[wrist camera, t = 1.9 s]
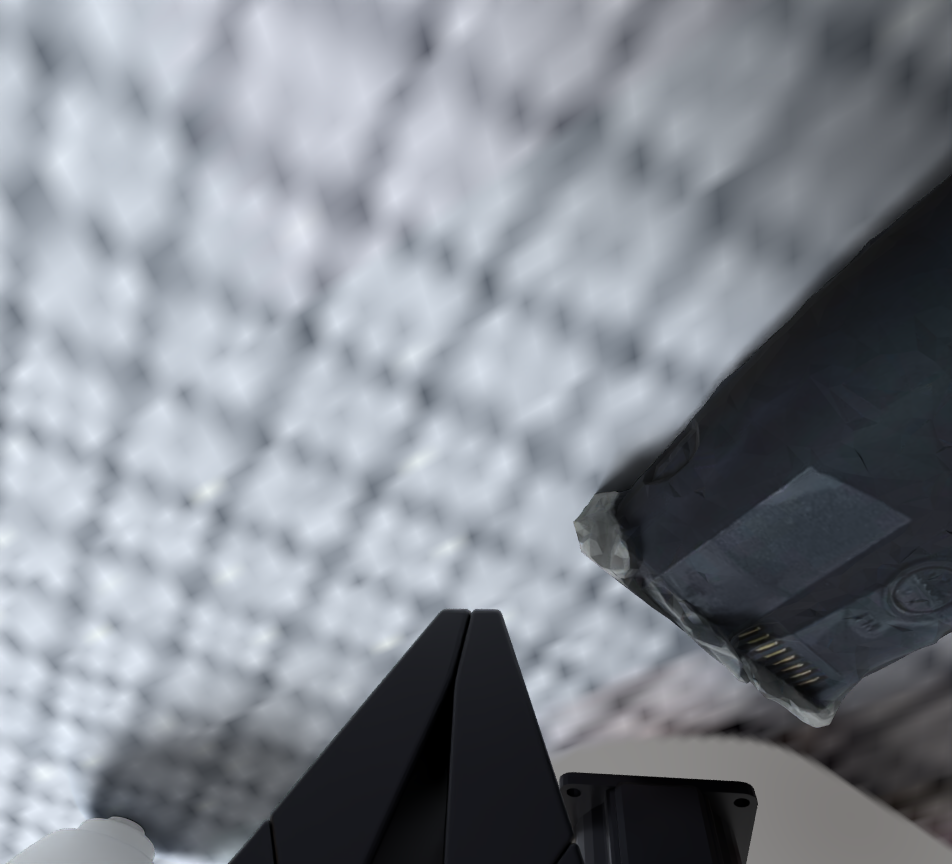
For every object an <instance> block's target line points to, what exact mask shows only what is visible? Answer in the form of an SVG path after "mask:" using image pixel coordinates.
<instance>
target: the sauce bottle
mask: <svg viewBox="0 0 952 864" xmlns="http://www.w3.org/2000/svg"><path fill="white" fill-rule="evenodd" d="M154 856H155V849H154V846H153V844H152V842H151V841H150V840H149V839H148V838H147V837H146V836H145V832H144V830H143V828H142V827H141V826H140V825H138V824H137V823H135V822H133V821H131V820H129V819H126V818H122V817H110V818H108V819H103V818H92V819H88V820H86V821H84V822H83V823H82V824H81V825H80V826H79V827H78V828H77V829H75V828H68V829H60V830H56V831H53V832H52V833H50V834H48V835H47V836H45V837H43V838H42V839H40V840H39V841H37V842H36V843H34V844H33V845H31V846H30V847H28V848H27V849H25V850H24V851H22V852H21V853H19V854H18V855H17V856H15V857H14V858H13V859H11V860H10V861H9V862H7V863H6V864H154V863H153V859H154Z"/></svg>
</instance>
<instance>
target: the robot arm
mask: <svg viewBox="0 0 952 864" xmlns="http://www.w3.org/2000/svg"><path fill="white" fill-rule="evenodd" d="M757 805H758V802H757V798H756V795H755V791H754V788H753V787H752V786H751V785H750V784H748V783H744V782H739V781H721V780H703V779H684V778H666V777H648V776H630V775H612V774H592V773H576V772H571V773H566V774H563V775H562V776H561V777H560V779H559V785H558V782H557V779H556V776H555V773H554V770H553V767H552V764H551V761H550V758H549V755H548V752H547V749H546V746H545V743H544V740H543V737H542V734H541V731H540V728H539V725H538V722H537V719H536V716H535V713H534V710H533V707H532V704H531V700H530V697H529V694H528V691H527V688H526V685H525V682H524V679H523V676H522V673H521V670H520V667H519V664H518V661H517V658H516V655H515V652H514V649H513V646H512V643H511V640H510V637H509V634H508V631H507V628H506V625H505V622H504V619H503V616H502V613H501V612H500V611H499V610H496V609H475V610H474V611H473V612H472V613H471V611H469V610H468V609H444V610H442V611H441V612H440V613H439V614H438V615H437V616H436V617H435V619H434V620H433V621H432V622H431V623H430V624H429V626H428V627H427V628H426V629H425V630H424V632H423V633H422V634H421V635H420V636H419V638H418V639H417V640H416V641H415V642H414V644H413V645H412V646H411V647H410V648H409V650H408V651H407V652H406V653H405V654H404V655H403V657H402V658H401V659H400V660H399V661H398V663H397V664H396V665H395V666H394V667H393V669H392V670H391V671H390V672H389V673H388V675H387V676H386V677H385V678H384V679H383V680H382V682H381V683H380V684H379V685H378V686H377V688H376V689H375V690H374V691H373V692H372V694H371V695H370V696H369V697H368V698H367V700H366V701H365V702H364V703H363V704H362V706H361V707H360V708H359V709H358V710H357V711H356V713H355V714H354V715H353V716H352V717H351V719H350V720H349V721H348V722H347V723H346V725H345V726H344V727H343V728H342V729H341V731H340V732H339V733H338V734H337V735H336V736H335V738H334V739H333V740H332V741H331V742H330V744H329V745H328V746H327V747H326V748H325V750H324V751H323V752H322V753H321V754H320V756H319V757H318V758H317V759H316V760H315V761H314V763H313V764H312V765H311V766H310V767H309V769H308V770H307V771H306V772H305V773H304V775H303V776H302V777H301V778H300V779H299V781H298V782H297V783H296V784H295V785H294V787H293V788H292V789H291V790H290V791H289V792H288V794H287V795H286V796H285V797H284V798H283V800H282V801H281V802H280V803H279V804H278V806H277V807H276V808H275V809H274V810H273V812H272V813H271V815H270V821H271V822H270V821H269V820H265V821H264V822H263V823H262V824H261V825H260V827H259V828H258V829H257V830H256V831H255V833H254V834H253V835H252V836H251V837H250V839H249V840H248V841H247V842H246V843H245V844H244V846H243V847H242V848H241V849H240V850H239V852H238V853H237V854H236V855H235V856H234V857H233V858H232V860H231V861H230V862H229V863H228V864H746V861H747V856H748V851H749V846H750V841H751V836H752V830H753V825H754V821H755V815H756V810H757Z"/></svg>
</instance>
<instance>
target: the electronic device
mask: <svg viewBox="0 0 952 864" xmlns="http://www.w3.org/2000/svg"><path fill="white" fill-rule="evenodd" d="M574 526H575V529H576V533H577V536H578V540H579V544H580V549H581V552H582V553H584V554H585V555H586V556H587V557H588V558H590V559H591V560H592V561H593V562H595V563H596V564H597V565H598V566H600V567H601V568H602V569H603V570H605V571H606V572H607V573H608V574H610V575H611V576H612V577H613V578H615V579H616V580H617V581H619V582H620V583H621V584H622V585H624V586H625V587H626V588H628V589H629V590H630V591H632V592H633V593H634V594H635V595H637V596H638V597H639V598H641V599H642V600H643V601H645V602H646V603H647V604H648V605H650V606H651V607H652V608H654V609H655V610H657V611H658V612H660V613H661V614H663V615H664V616H666V617H667V618H668V619H670V620H671V621H672V622H673V623H675V624H676V625H677V626H678V627H680V628H681V629H682V630H683V631H685V632H686V633H687V634H688V635H689V636H690V637H691V638H692V639H693V640H694V641H695V642H696V643H697V644H698V645H699V646H701V647H702V648H703V649H704V650H705V651H706V652H708V653H709V654H710V655H711V656H712V657H714V658H715V659H716V660H718V661H719V662H720V663H722V664H723V665H724V666H726V668H727V669H728V670H729V671H730V672H731V673H732V674H733V675H734V676H735V677H736V678H737V680H739V681H742V682H744V683H748V682H750V681H751V682H752V684H753V685H754V686H755V687H756V688H757V689H758V690H759V691H760V692H761V693H762V694H763V695H764V696H765V697H766V698H768V699H770V700H773V701H775V702H778V703H779V704H780V705H782V706H783V707H784V708H786V709H787V710H788V711H790V712H791V713H792V714H794V715H795V716H796V717H797V718H799V719H800V720H801V721H802V722H804V723H806V724H809V725H811V726H813V727H816V728H819V727H822V726H826V725H830V723H831V721H832V719H833V717H834V715H835V713H836V711H837V709H838V707H839V705H840V703H841V701H842V700H843V699H844V697H845V696H846V695H847V693H848V692H849V691H850V690H851V689H852V688H853V687H854V686H855V685H856V684H857V683H858V682H859V681H860V680H861V679H862V678H863V677H865V676H868V675H870V674H872V673H874V672H876V671H878V670H880V669H882V668H884V667H886V666H888V665H890V664H891V663H893V662H895V661H897V660H899V659H901V658H903V657H905V656H906V655H908V654H910V653H912V652H914V651H916V650H918V649H921V648H923V647H926V646H929V645H932V644H935V643H937V641H938V640H939V639H940V638H941V637H943V636H945V635H947V634H948V633H950V632H952V175H951V176H949V177H948V178H947V179H946V180H945V181H944V182H943V183H942V184H940V185H939V186H937V187H936V188H935V189H934V190H932V191H931V192H930V193H929V194H928V195H926V196H925V197H924V198H923V199H921V200H920V201H919V202H918V203H916V204H915V205H914V206H913V207H912V208H911V209H910V210H908V211H907V212H906V213H905V214H904V215H903V216H901V217H900V218H899V219H898V220H897V221H896V222H894V223H893V224H892V225H891V226H890V227H889V228H887V229H886V230H884V231H883V232H882V233H880V234H879V235H877V236H876V237H875V238H873V239H872V240H870V241H869V242H868V243H867V244H866V245H865V246H864V248H863V249H862V250H861V251H860V252H859V253H858V255H857V256H856V257H855V258H854V259H853V260H852V262H851V263H850V264H849V265H848V266H847V267H845V268H844V269H843V270H842V271H841V272H840V273H839V274H837V275H836V276H835V277H834V278H832V279H831V280H830V281H828V282H827V283H826V284H825V286H824V287H823V288H822V289H820V290H819V291H818V292H817V293H816V294H814V295H813V296H812V297H811V298H810V299H808V301H807V302H806V303H805V304H804V305H803V307H802V308H801V309H800V310H799V311H798V312H797V314H796V315H795V316H794V317H793V318H792V319H791V320H790V321H789V322H788V323H787V324H785V325H784V326H783V327H782V328H781V329H780V330H779V331H778V332H776V333H775V334H774V335H773V336H772V337H771V338H770V339H769V340H768V341H767V342H766V343H765V344H764V345H763V346H762V347H761V348H760V349H759V350H757V351H756V352H755V354H754V355H753V356H752V357H751V358H750V359H749V360H748V361H747V362H746V363H745V364H744V365H743V366H741V367H740V368H739V369H738V370H736V371H735V372H734V373H733V374H731V375H730V376H729V377H727V378H726V379H725V380H724V381H723V382H722V383H721V384H720V385H719V387H718V388H717V389H716V391H715V392H714V393H713V395H712V396H711V397H710V399H709V400H708V401H707V403H706V404H705V405H704V407H703V408H702V409H701V410H700V411H699V412H698V413H697V414H696V415H695V417H694V418H693V419H692V420H691V422H690V423H689V424H688V426H687V427H686V429H685V431H683V432H682V433H681V434H680V435H679V436H678V437H677V438H676V439H675V441H674V442H673V443H672V444H671V445H670V446H669V447H668V448H667V449H666V450H665V451H664V452H663V453H662V454H661V455H660V456H659V458H658V459H657V460H656V461H655V463H654V464H653V465H652V466H651V467H650V468H649V469H648V470H647V471H646V472H645V473H644V474H643V475H642V476H641V477H640V478H639V479H638V480H637V481H636V483H635V484H634V485H633V487H632V488H631V489H630V490H626V491H623V492H619V493H618V492H616V491H613V492H603V493H598V494H595V495H594V496H593V498H592V499H591V500H590V502H589V504H588V505H587V506H586V507H585V508H584V510H583V512H582V513H581V514H580V515H579V517H578V518H577V519H576V520H575V521H574Z"/></svg>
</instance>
